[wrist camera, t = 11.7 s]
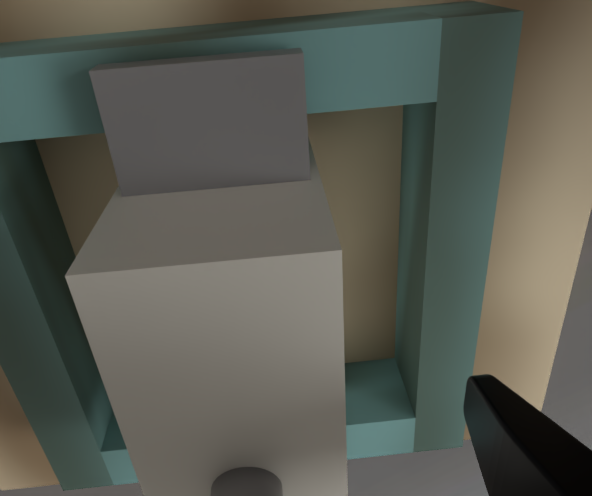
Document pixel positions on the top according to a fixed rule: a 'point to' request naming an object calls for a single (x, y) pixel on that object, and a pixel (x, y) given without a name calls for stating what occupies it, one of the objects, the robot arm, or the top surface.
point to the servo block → (217, 280)
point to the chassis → (339, 192)
